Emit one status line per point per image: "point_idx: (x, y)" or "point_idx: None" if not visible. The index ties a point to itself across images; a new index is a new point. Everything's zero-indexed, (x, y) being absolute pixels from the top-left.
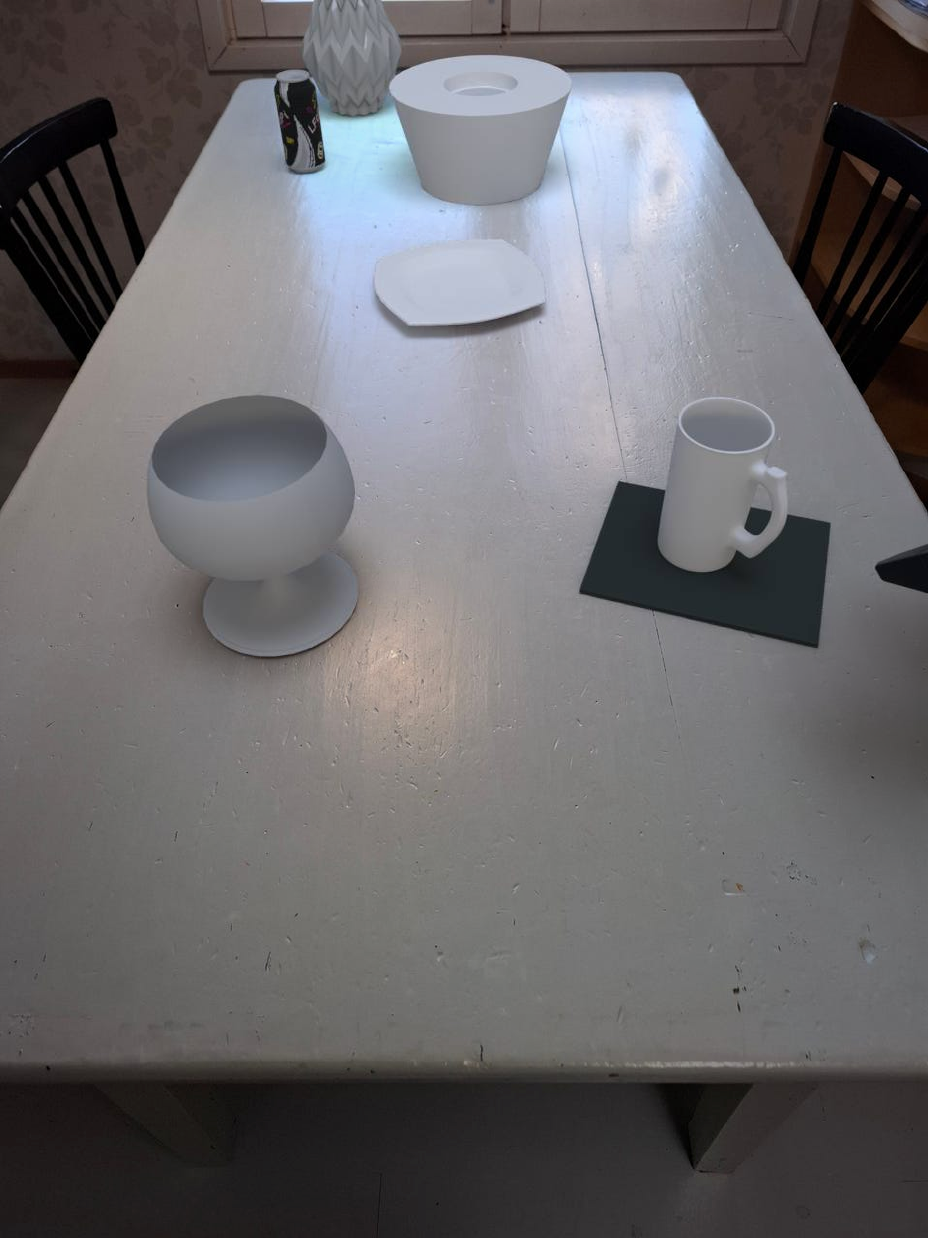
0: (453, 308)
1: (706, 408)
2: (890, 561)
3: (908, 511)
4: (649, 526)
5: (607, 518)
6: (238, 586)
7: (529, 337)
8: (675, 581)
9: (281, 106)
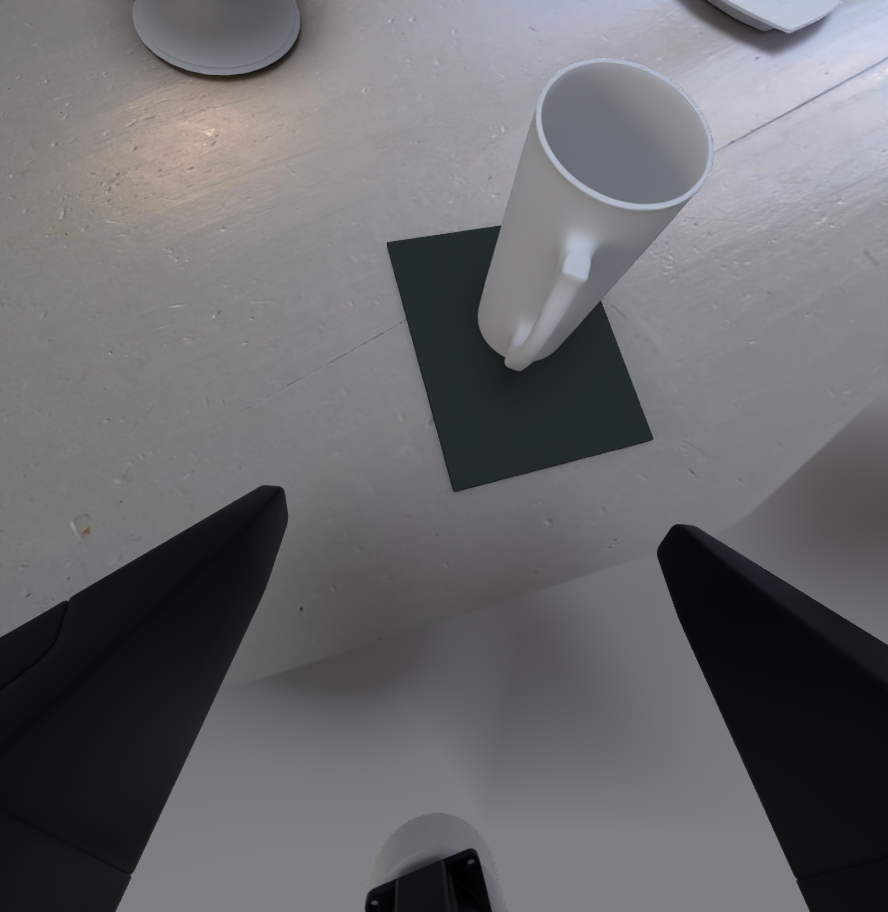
0: None
1: (658, 111)
2: (218, 513)
3: (734, 514)
4: None
5: None
6: None
7: (726, 58)
8: (456, 322)
9: None
